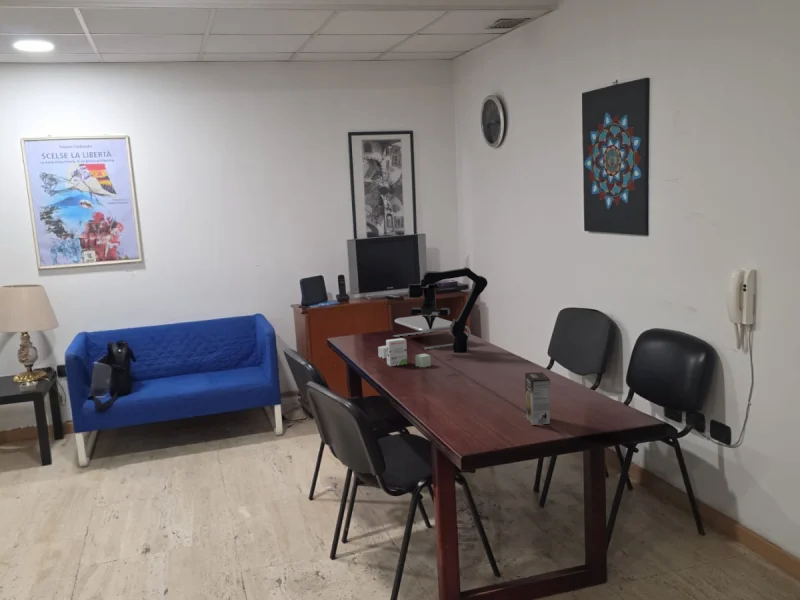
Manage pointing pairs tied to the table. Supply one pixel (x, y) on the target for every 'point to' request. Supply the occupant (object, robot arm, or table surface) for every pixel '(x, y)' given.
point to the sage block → (423, 360)
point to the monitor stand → (426, 327)
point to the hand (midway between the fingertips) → (430, 328)
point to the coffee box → (537, 398)
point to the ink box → (396, 352)
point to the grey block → (382, 352)
